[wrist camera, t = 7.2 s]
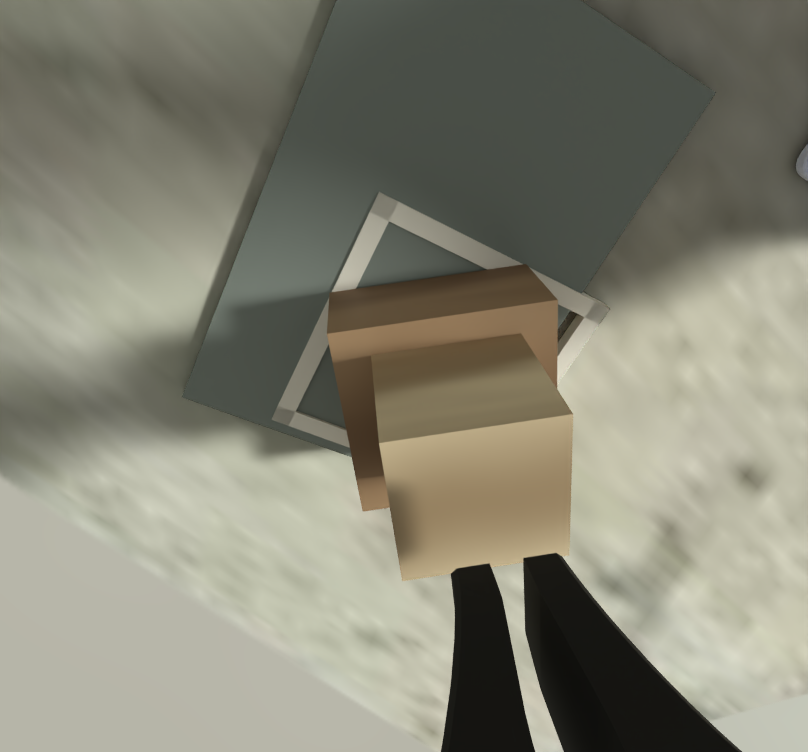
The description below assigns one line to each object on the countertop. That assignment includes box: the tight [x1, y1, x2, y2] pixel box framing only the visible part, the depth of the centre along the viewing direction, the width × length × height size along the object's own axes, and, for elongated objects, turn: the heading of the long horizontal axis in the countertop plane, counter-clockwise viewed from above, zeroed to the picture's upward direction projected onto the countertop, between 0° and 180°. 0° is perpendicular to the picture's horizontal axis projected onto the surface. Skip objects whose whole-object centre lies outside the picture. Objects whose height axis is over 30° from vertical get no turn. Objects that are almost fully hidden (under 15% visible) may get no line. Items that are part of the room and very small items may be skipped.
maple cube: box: [371, 333, 573, 581], centre depth 15 cm, size 4×4×4 cm
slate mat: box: [182, 0, 716, 457], centre depth 18 cm, size 15×11×1 cm
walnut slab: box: [327, 264, 558, 511], centre depth 18 cm, size 6×6×3 cm
